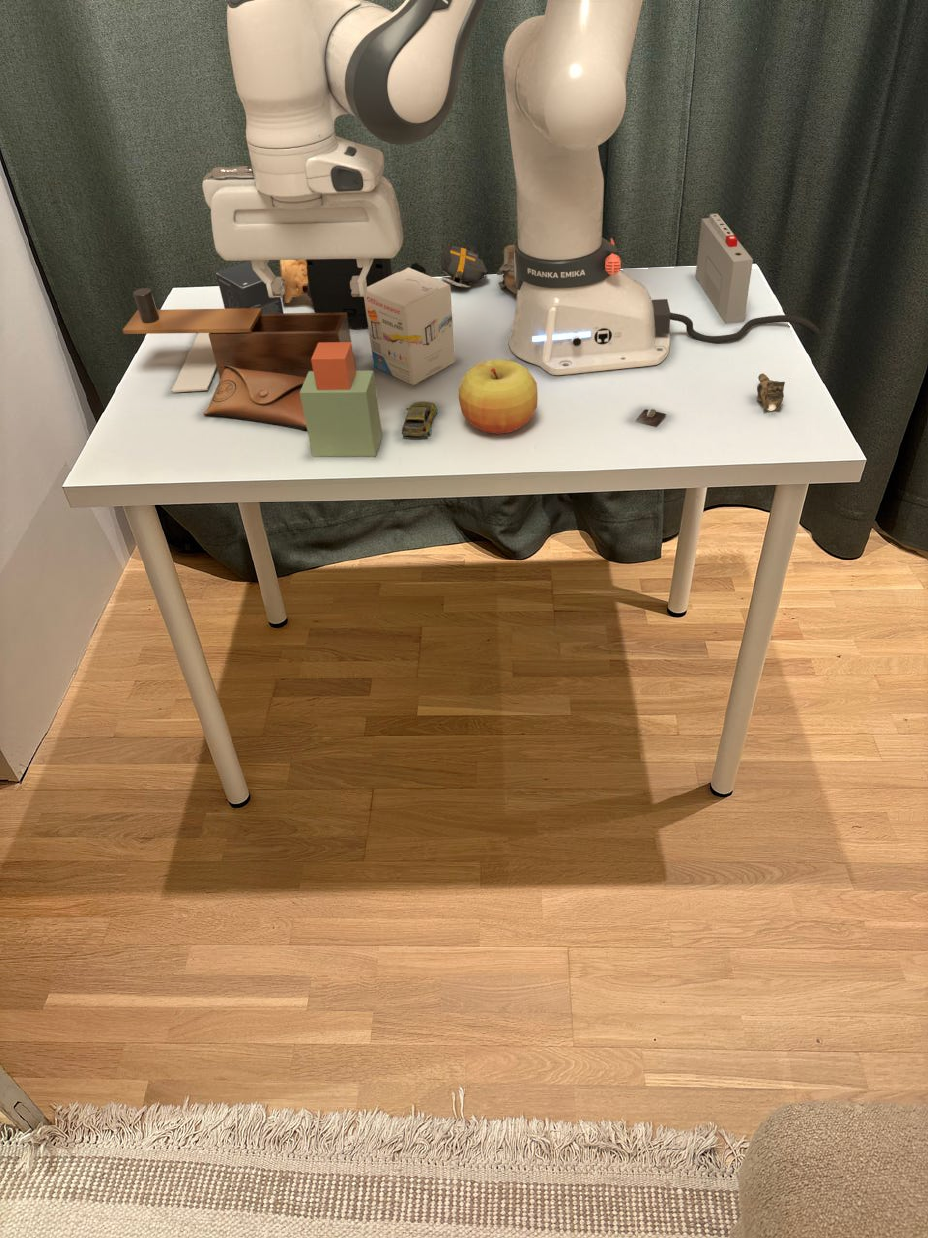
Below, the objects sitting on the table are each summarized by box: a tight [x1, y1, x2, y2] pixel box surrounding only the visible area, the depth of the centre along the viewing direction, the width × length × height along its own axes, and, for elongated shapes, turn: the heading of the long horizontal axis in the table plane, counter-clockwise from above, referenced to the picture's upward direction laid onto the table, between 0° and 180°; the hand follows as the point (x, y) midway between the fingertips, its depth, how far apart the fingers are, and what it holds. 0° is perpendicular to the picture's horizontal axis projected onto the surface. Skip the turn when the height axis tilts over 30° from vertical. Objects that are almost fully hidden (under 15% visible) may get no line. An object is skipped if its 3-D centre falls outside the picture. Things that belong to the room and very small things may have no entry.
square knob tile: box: [635, 408, 667, 428], centre depth 119 cm, size 3×3×1 cm
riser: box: [300, 370, 383, 457], centre depth 117 cm, size 8×5×9 cm, turn 84°
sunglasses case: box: [203, 366, 307, 430], centre depth 127 cm, size 18×7×7 cm
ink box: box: [364, 267, 456, 386], centre depth 130 cm, size 9×8×12 cm
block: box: [311, 341, 357, 390], centre depth 113 cm, size 4×4×4 cm
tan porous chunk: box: [278, 260, 311, 305], centre depth 149 cm, size 12×10×8 cm
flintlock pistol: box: [496, 244, 517, 295], centre depth 150 cm, size 19×4×10 cm
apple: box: [458, 359, 539, 435], centre depth 119 cm, size 10×10×8 cm
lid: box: [122, 287, 262, 335], centre depth 130 cm, size 18×6×5 cm, turn 84°
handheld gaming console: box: [306, 258, 393, 330], centre depth 137 cm, size 12×5×20 cm, turn 76°
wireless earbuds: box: [398, 262, 430, 276], centre depth 153 cm, size 7×2×5 cm
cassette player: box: [694, 213, 754, 324], centre depth 139 cm, size 16×3×10 cm, turn 6°
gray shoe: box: [439, 245, 489, 288], centre depth 153 cm, size 7×15×4 cm, turn 176°
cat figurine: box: [756, 373, 786, 412], centre depth 120 cm, size 3×8×4 cm, turn 0°
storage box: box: [208, 312, 352, 379], centre depth 133 cm, size 18×6×7 cm, turn 84°
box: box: [215, 260, 284, 314], centre depth 138 cm, size 8×6×11 cm
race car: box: [401, 400, 438, 440], centre depth 122 cm, size 4×8×2 cm, turn 172°
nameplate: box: [171, 333, 218, 393], centre depth 140 cm, size 22×1×5 cm
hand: (318, 295), depth 107 cm, fingers open, 8 cm apart
